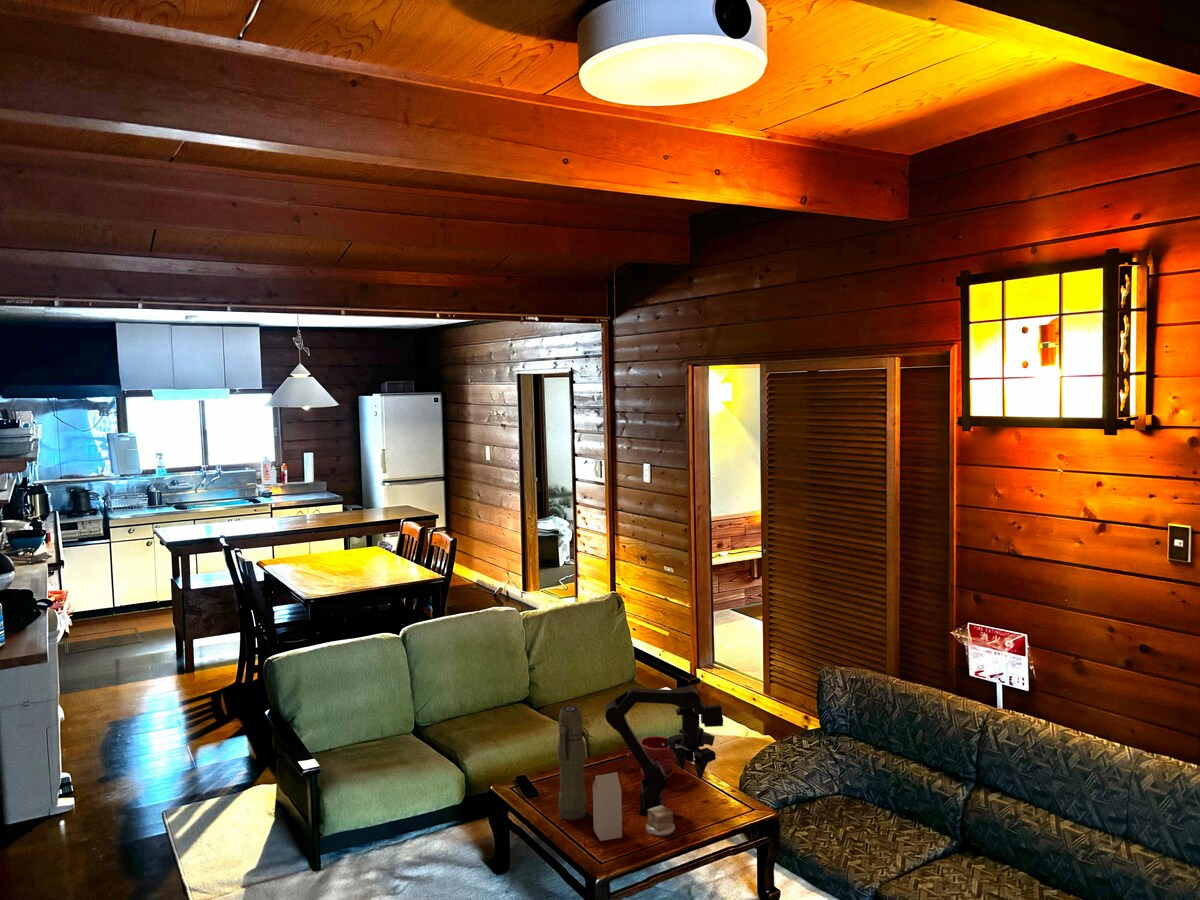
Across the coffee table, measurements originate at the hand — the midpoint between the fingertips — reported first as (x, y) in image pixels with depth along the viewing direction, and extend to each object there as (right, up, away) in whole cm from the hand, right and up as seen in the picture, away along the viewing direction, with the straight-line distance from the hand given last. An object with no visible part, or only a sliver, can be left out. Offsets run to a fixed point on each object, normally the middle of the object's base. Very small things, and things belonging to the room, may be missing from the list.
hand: (691, 774), depth 289 cm
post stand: (-11, -13, -12) cm, 21 cm away
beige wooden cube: (-11, -12, -12) cm, 20 cm away
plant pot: (-9, -11, +29) cm, 32 cm away
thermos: (-39, -13, -1) cm, 41 cm away
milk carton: (-27, -14, -14) cm, 34 cm away
